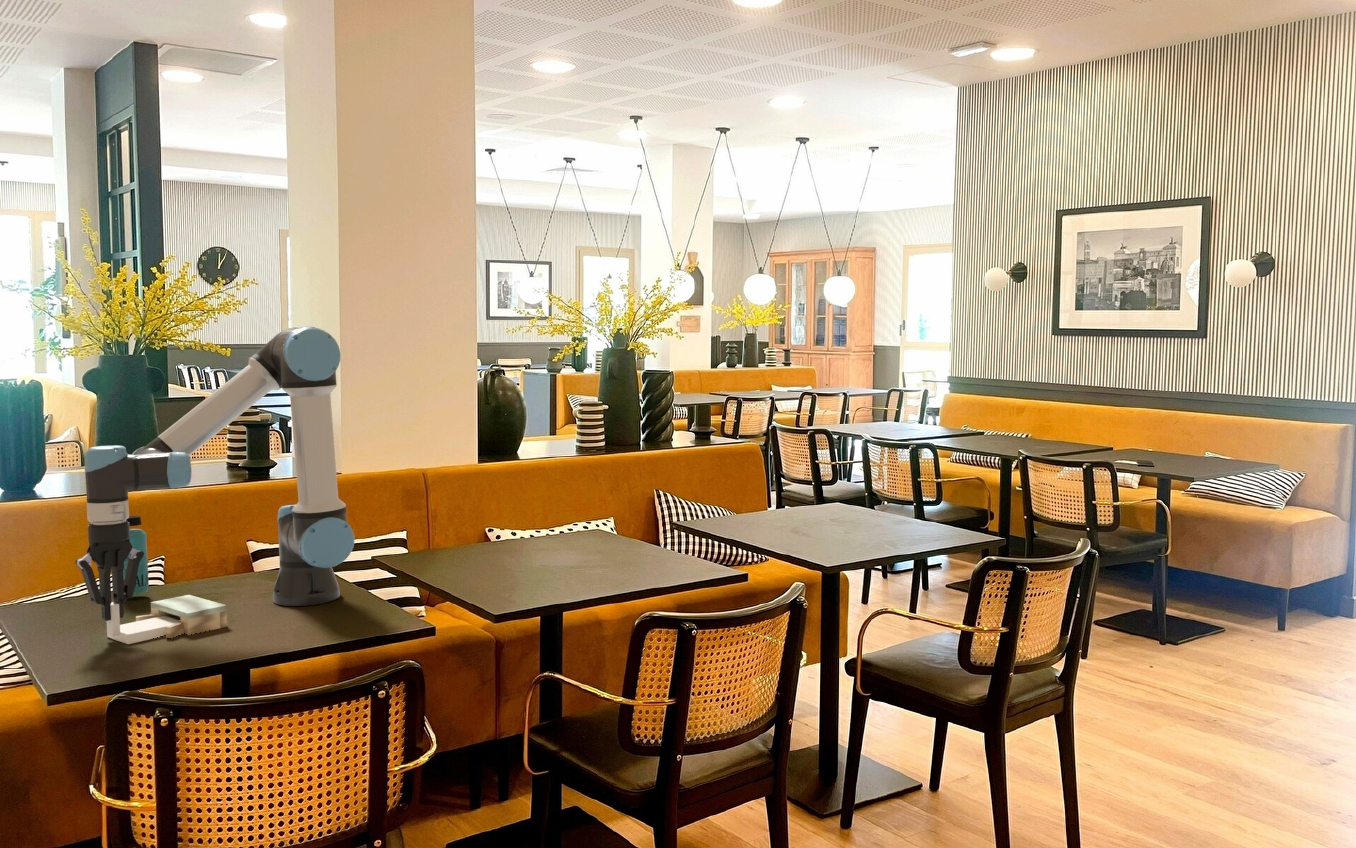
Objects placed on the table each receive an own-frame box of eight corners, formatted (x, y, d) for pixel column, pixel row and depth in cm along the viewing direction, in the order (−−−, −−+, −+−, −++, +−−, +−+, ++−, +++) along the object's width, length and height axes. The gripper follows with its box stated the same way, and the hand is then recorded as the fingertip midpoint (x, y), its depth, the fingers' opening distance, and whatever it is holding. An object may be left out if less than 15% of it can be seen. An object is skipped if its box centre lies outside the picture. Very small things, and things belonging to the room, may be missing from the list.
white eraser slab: (127, 644, 217) (127, 634, 217) (107, 637, 222) (107, 627, 222) (185, 631, 226) (184, 622, 226) (164, 624, 232) (164, 615, 232)
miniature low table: (169, 639, 220) (168, 617, 220) (133, 627, 230) (132, 605, 230) (227, 626, 230) (226, 605, 230) (189, 615, 240) (188, 594, 240)
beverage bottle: (126, 595, 259) (122, 514, 258) (154, 594, 260) (150, 513, 258) (114, 601, 253) (110, 518, 251) (143, 601, 253) (139, 518, 252)
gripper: (83, 527, 210) (88, 645, 212) (149, 519, 220) (154, 631, 222) (66, 524, 214) (72, 638, 216) (132, 515, 225) (137, 625, 226)
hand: (113, 634), depth 219 cm, fingers closed
